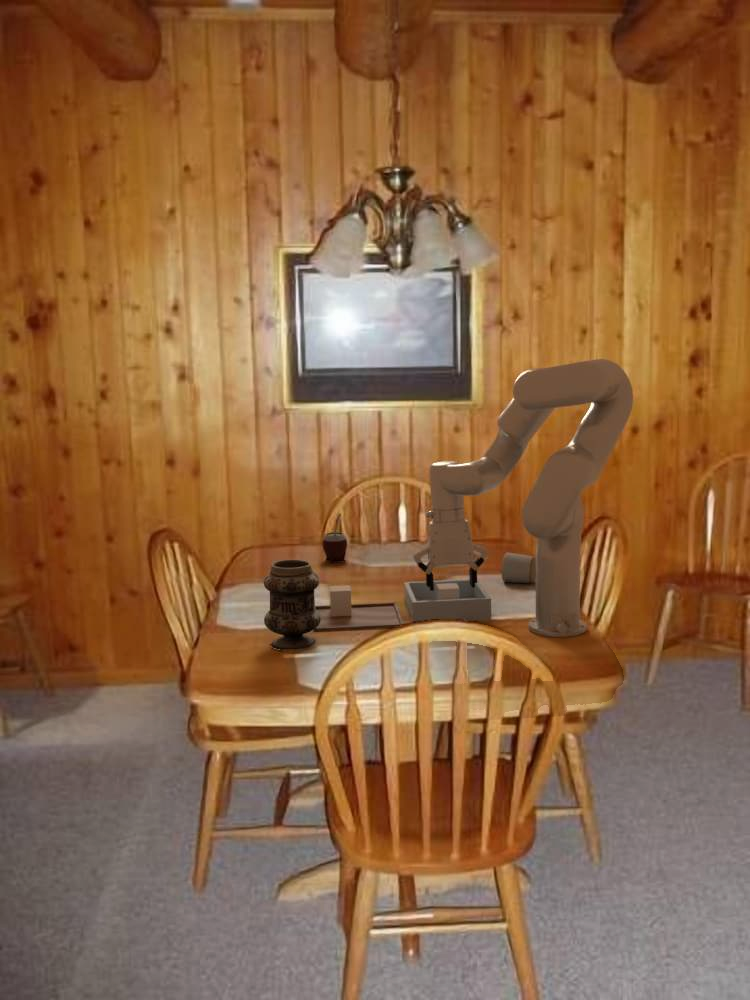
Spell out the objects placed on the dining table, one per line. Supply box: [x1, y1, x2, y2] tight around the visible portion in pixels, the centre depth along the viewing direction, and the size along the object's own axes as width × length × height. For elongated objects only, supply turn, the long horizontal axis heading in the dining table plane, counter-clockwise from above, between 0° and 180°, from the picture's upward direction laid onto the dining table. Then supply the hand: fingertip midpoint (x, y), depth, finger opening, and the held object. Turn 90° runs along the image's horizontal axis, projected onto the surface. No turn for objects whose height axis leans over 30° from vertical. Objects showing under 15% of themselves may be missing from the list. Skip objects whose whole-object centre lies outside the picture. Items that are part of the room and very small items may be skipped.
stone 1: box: [329, 584, 352, 617], centre depth 229 cm, size 5×5×6 cm
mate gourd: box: [322, 513, 348, 564], centre depth 283 cm, size 8×8×15 cm
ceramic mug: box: [501, 552, 536, 584], centre depth 257 cm, size 11×8×8 cm
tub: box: [403, 578, 492, 622], centre depth 231 cm, size 18×18×5 cm
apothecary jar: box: [263, 558, 321, 651], centre depth 208 cm, size 12×12×18 cm
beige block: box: [436, 583, 459, 600], centre depth 228 cm, size 5×5×6 cm
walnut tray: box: [313, 601, 405, 632], centre depth 226 cm, size 18×20×1 cm
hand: (452, 587), depth 227 cm, fingers open, 9 cm apart
